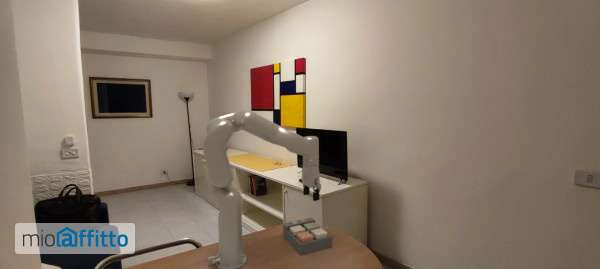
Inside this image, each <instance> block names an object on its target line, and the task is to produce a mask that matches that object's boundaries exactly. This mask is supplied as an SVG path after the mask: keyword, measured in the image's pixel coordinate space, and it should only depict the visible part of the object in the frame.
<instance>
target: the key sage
mask: <svg viewBox="0 0 600 269" xmlns="http://www.w3.org/2000/svg"><path fill="white" fill-rule="evenodd" d="M319 227H320V226H319V225H318V224H317V223H316V222H315V223H314V222H312V223H307V224H304V229H305V230H306V231H308V232H309V233H310V232H311V230H315V229H319Z"/></svg>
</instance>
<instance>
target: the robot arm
mask: <svg viewBox="0 0 600 269" xmlns="http://www.w3.org/2000/svg"><path fill="white" fill-rule="evenodd" d="M205 130H206V133H207V134H206V135H205V138H204V141H203V144H202V154H203V157H204V160H205V164H206V166H205V168H204V177H205V180H206V184H207V186H208V189H209V192H210V195H211V198H212V200H213V202H214V203H215V204H216V205H217V207H218V216H217V217H218V218H217V228H218V251H217V253H216V254H215V255H213V256H212V255H210V256H207V262H208V263H210V262H211V264H215V265H216V268H218V269H240V268H242V267H243V266H245V264H247V259H248V258H247V255H246V254H245V253H243V252H244V251H243V250H244V246H243V245H244V244H243V219H242V218H243V208H244V207H243V206H244V200H243V196H242V194H241V193H240V192H239V191H238V190H237V189H236V188H235V187H233V185H232V184H233V180H234V172H233V169H232V167H231V164H230V163H231V162H230V161H229V158H228V154H227V153H228V152H227V144H228V142H229V141H230V140H231V138H232V136H233V135H234V133H237V132H239V131H244V132H246V133H248V134H251V135H252V136H255V137H257V138H259V139H261V140H263V141H265V142H268V143H269V144H271V145H276V146H278V147H279V146H280V147H283V148H285V149H286V150H287V151H288V152H289V153H292V154H296V155H298V156H299V155H300V156H302V169H301V170H302V171H301V183H302V188H303V190H302V191H303V196H308V195H310V193H311V192H310V191H311V190H310V189H312V191H313V192H312V201H313V202H317V201H319V200H320V193H321V189H322V184H321V179H320V169H319V168H320V167H319V166H320V160H319V159H320V158H319V157H320V155H319V154H320V153H319V150H320V149H319V145H320V143H319V137H318V136H315V135H309V136H308V135H307V136H302V135H300V134H298V133H296V132H294V131H291V130H289V129H288V128H285V127H284V126H281V125H279V124H277V123H275V122H273V121H271V120H269V119H268V118H265V117H263V116H262V115H260V114H257V113H256V112H254V111H251V110H244V109H243V110H238V111H234V112H231V113H229V114H224V115H221V116H217V117H215V118H212V119H210V120H209V121H208V122H207V125H206V129H205Z"/></svg>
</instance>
